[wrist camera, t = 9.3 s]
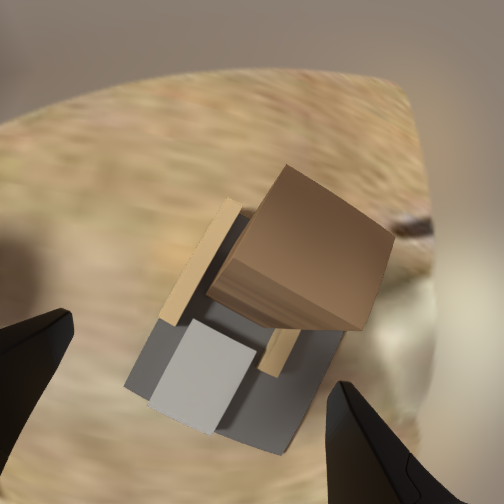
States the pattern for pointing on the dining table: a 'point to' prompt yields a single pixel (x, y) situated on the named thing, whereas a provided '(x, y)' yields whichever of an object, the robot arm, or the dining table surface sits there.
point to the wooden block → (304, 261)
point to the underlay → (228, 356)
